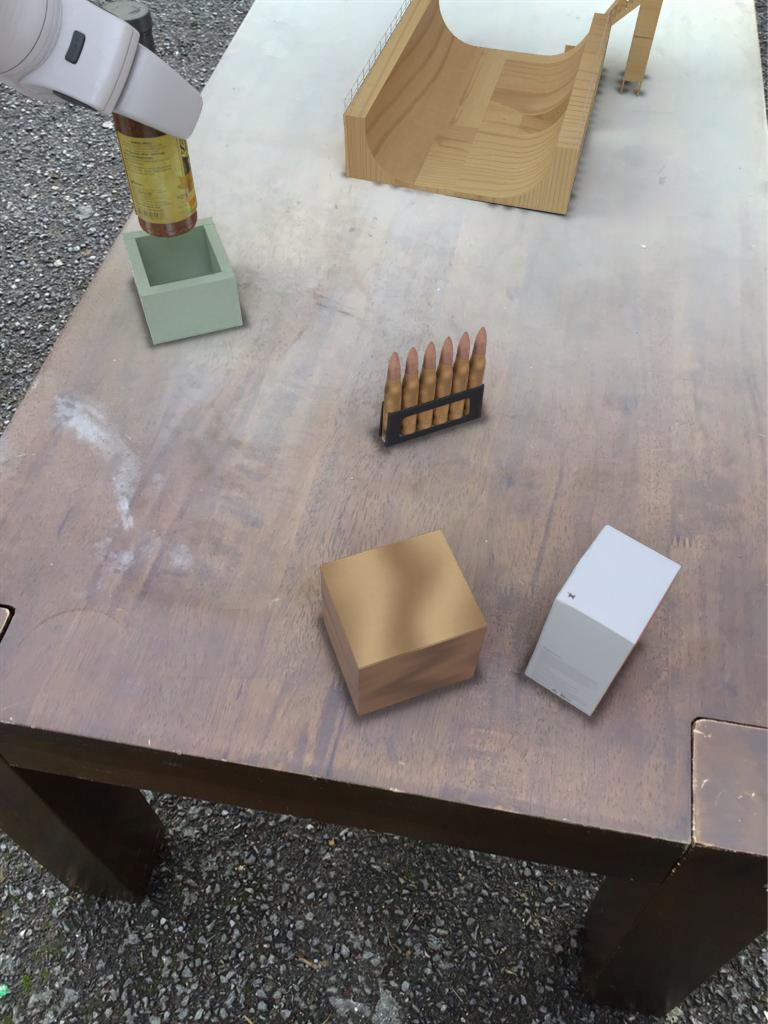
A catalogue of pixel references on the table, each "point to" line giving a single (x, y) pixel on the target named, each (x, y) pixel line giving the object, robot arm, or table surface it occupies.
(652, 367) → the table surface
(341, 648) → the wooden stand
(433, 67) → the skate ramp
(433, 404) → the ammunition clip
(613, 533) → the small box
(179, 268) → the holder
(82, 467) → the table surface
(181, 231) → the sauce bottle
